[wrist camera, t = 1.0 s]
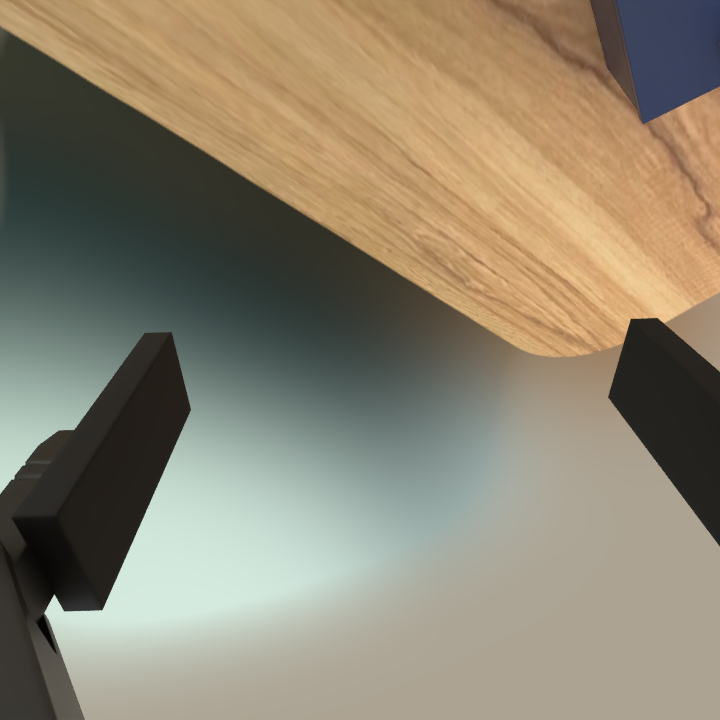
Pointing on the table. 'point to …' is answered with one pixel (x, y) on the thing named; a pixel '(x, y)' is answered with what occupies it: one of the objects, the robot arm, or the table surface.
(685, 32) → the lid
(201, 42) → the table surface
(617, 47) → the chest
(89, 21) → the table surface
